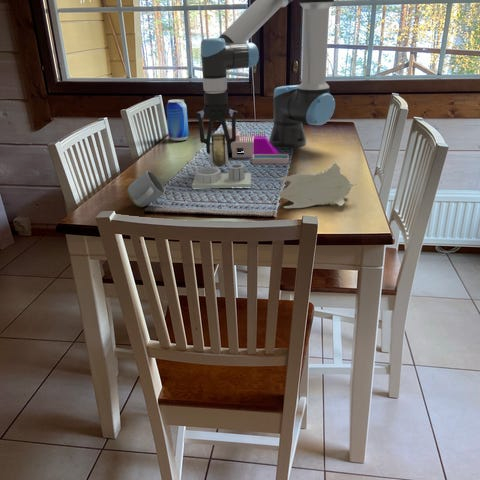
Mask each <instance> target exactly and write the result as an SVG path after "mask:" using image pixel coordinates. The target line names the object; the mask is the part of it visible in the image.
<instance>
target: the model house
mask: <svg viewBox="0 0 480 480" xmlns="http://www.w3.org/2000/svg"><path fill="white" fill-rule="evenodd" d="M227 129H228V132H229V136H230V138H232V125H228V126H227ZM259 133H260V134H259ZM265 133H266V131H262V132H261V131H250V132H249V131H248V132H247V131H245V132H244V131H239V130H238V129H237V128H236V141H235V142H232V143H231V153H228V155H231V156H232V157H231V158H232V159H233V158H251V159H252V163H251V164H261V165H262V164H263V165H265V164H268V165H269V164H272V165H274V164H282V165H284V164H288V165H289V162H290V158H289V154H288V153H286V154H285V153H282V154H281V153H279V150H278V149H277V148H276V147H273V146H272V144H271V143H270V142H269V139H268V137H267V136H266V134H265ZM221 134H224V131H222V132H221ZM225 142H227V141H226V138H225ZM241 151H244V154H237V152H241ZM228 162H231V159H228Z"/></svg>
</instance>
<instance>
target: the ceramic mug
mask: <svg viewBox="0 0 480 480" xmlns="http://www.w3.org/2000/svg"><path fill="white" fill-rule="evenodd" d="M165 192H166V191H165V187H164V186H163V184H162V183H161V181H160V180H159V178H158V177H157V176H156V175H155V174H154V173H153V172H151V171H150V170H146V171H144V173H142V174H141V175H140V176H139V177H138V178H137V179H136V180H134V181H132V183H130V184H129V185H128V187H127V188H126V193H127V195H128V197H129V199H130V200H131V202H132V203H133V204H134V205H136V207H138V208H144V207H147V206H148V205H150V204H151V203H152V202H154V201H156V200H158V198H160V197H161V196H163V195H164V194H165Z"/></svg>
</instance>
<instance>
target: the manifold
mask: <svg viewBox="0 0 480 480" xmlns="http://www.w3.org/2000/svg"><path fill="white" fill-rule="evenodd" d="M245 169H246V168H245V164H243V163H242V164H241V163H230V164H229V165H228V167H227V170H228V172H226V173H225V172H221V171H222V170H221V169H220V168H218V167H212V166H211V167H201V168H198V169H197V168H196V170H195V171H194V178H193V181H192V184H191V189H192V188H232V187H251V188H252V172H245Z"/></svg>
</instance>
